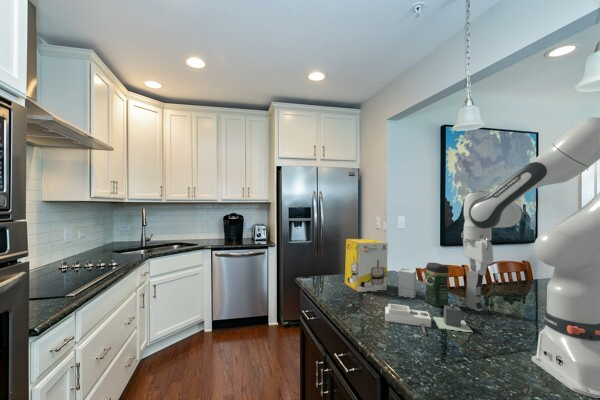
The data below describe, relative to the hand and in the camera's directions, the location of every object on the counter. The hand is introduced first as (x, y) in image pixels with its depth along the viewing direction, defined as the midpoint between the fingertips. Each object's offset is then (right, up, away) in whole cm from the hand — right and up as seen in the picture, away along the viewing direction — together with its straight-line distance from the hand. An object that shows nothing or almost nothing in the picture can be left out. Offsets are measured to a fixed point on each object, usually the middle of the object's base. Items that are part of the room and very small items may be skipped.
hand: (477, 272), depth 108 cm
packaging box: (-31, -21, +50) cm, 62 cm away
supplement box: (-13, -21, +36) cm, 44 cm away
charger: (-9, -20, +1) cm, 22 cm away
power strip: (-26, -19, 0) cm, 32 cm away
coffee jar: (-3, -21, +25) cm, 33 cm away
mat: (-9, -20, +1) cm, 22 cm away
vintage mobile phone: (+11, -21, +19) cm, 31 cm away
